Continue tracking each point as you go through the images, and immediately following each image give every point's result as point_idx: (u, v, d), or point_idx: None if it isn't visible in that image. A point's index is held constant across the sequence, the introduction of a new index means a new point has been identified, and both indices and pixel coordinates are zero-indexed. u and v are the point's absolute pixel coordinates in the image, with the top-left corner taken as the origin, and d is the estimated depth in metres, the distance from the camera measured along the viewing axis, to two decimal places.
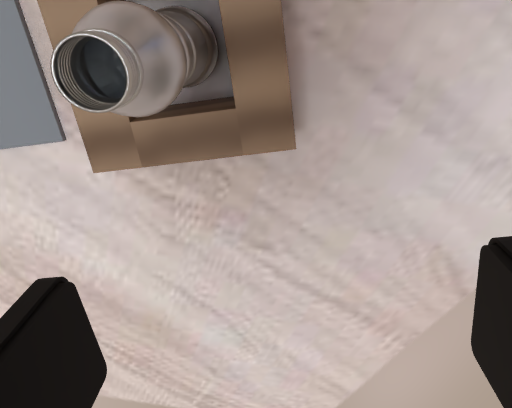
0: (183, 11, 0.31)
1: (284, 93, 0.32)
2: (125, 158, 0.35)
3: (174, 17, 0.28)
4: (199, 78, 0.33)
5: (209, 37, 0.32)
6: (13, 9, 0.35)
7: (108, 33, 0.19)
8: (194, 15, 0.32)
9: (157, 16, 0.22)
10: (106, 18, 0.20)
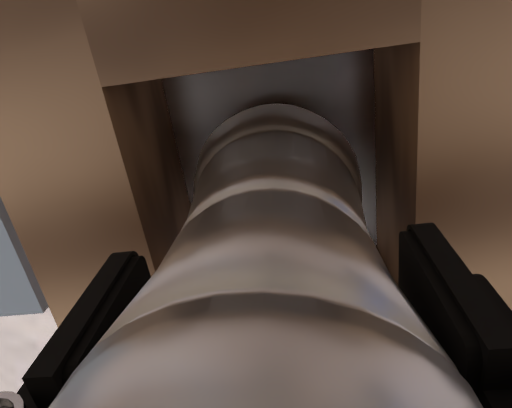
0: (308, 127, 0.14)
1: None
2: None
3: (318, 174, 0.11)
4: None
5: (359, 178, 0.14)
6: None
7: None
8: (328, 131, 0.14)
9: None
10: None
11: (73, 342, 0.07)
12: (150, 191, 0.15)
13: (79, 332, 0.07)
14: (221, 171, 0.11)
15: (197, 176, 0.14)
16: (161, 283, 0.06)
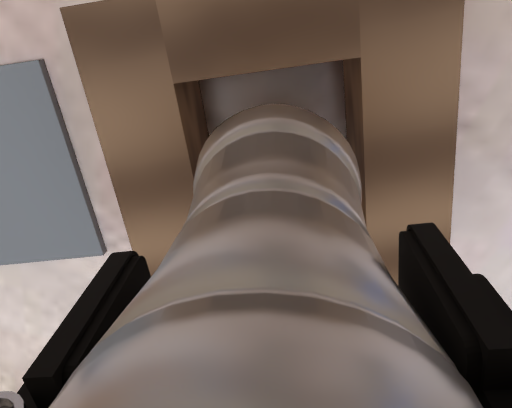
0: (308, 127, 0.14)
1: (442, 227, 0.22)
2: None
3: (318, 174, 0.11)
4: None
5: (358, 178, 0.14)
6: (43, 92, 0.26)
7: None
8: (328, 131, 0.14)
9: None
10: None
11: (73, 343, 0.07)
12: (195, 153, 0.23)
13: (79, 332, 0.07)
14: (221, 171, 0.11)
15: (197, 176, 0.14)
16: (161, 283, 0.06)
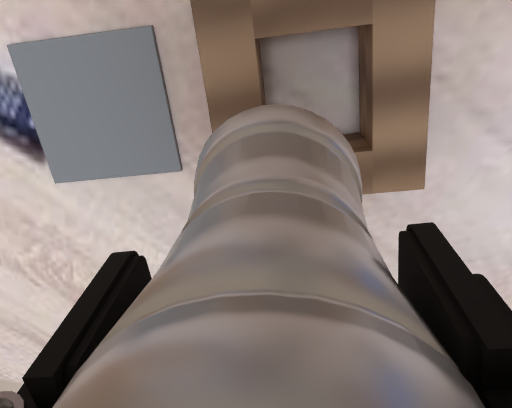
0: (309, 128, 0.14)
1: (421, 138, 0.34)
2: None
3: (319, 174, 0.11)
4: None
5: (359, 178, 0.14)
6: (152, 49, 0.37)
7: None
8: (328, 132, 0.14)
9: None
10: None
11: (74, 342, 0.07)
12: (261, 88, 0.34)
13: (79, 332, 0.07)
14: (222, 172, 0.11)
15: (197, 177, 0.14)
16: (163, 284, 0.06)
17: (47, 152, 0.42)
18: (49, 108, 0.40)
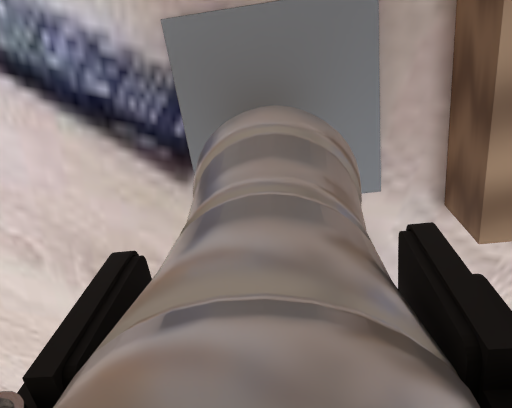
0: (308, 129, 0.14)
1: None
2: None
3: (318, 176, 0.11)
4: None
5: (358, 180, 0.14)
6: (373, 19, 0.26)
7: None
8: (327, 133, 0.14)
9: None
10: None
11: (73, 342, 0.07)
12: None
13: (79, 332, 0.07)
14: (221, 174, 0.11)
15: (197, 178, 0.14)
16: (161, 288, 0.06)
17: None
18: (209, 108, 0.29)
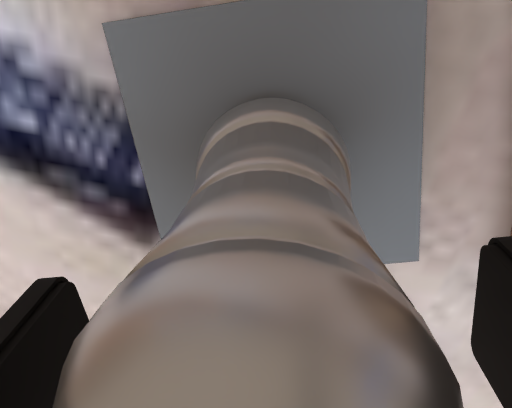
0: (302, 119, 0.15)
1: None
2: None
3: (309, 158, 0.12)
4: None
5: (348, 167, 0.16)
6: (418, 23, 0.17)
7: None
8: (320, 123, 0.15)
9: (409, 330, 0.05)
10: None
11: None
12: None
13: None
14: (222, 156, 0.13)
15: (199, 162, 0.15)
16: (172, 237, 0.07)
17: (164, 229, 0.22)
18: (178, 150, 0.20)
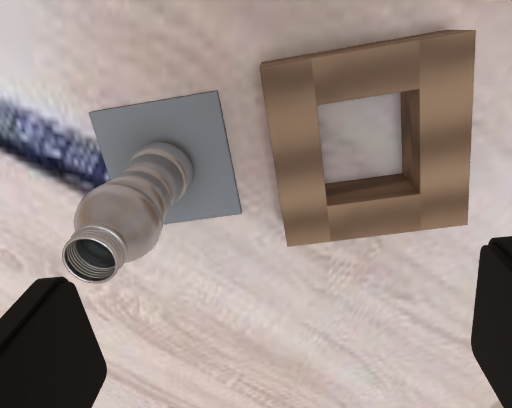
0: (163, 152, 0.40)
1: (464, 182, 0.38)
2: (317, 234, 0.41)
3: (154, 167, 0.37)
4: (177, 199, 0.41)
5: (184, 169, 0.40)
6: (217, 110, 0.42)
7: (102, 229, 0.27)
8: (172, 153, 0.40)
9: (138, 197, 0.30)
10: (101, 208, 0.29)
11: None
12: None
13: None
14: (128, 166, 0.37)
15: None
16: None
17: None
18: (124, 164, 0.45)
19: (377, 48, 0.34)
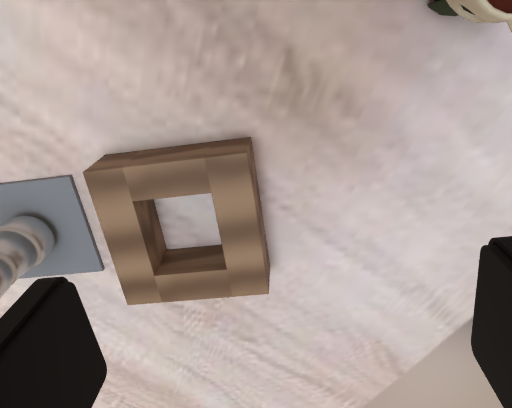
0: (19, 228, 0.48)
1: (260, 262, 0.47)
2: (150, 296, 0.50)
3: (3, 246, 0.45)
4: (35, 265, 0.50)
5: (39, 242, 0.49)
6: (71, 191, 0.51)
7: None
8: (28, 228, 0.49)
9: None
10: None
11: None
12: (145, 226, 0.48)
13: None
14: None
15: None
16: None
17: None
18: None
19: (172, 162, 0.42)
